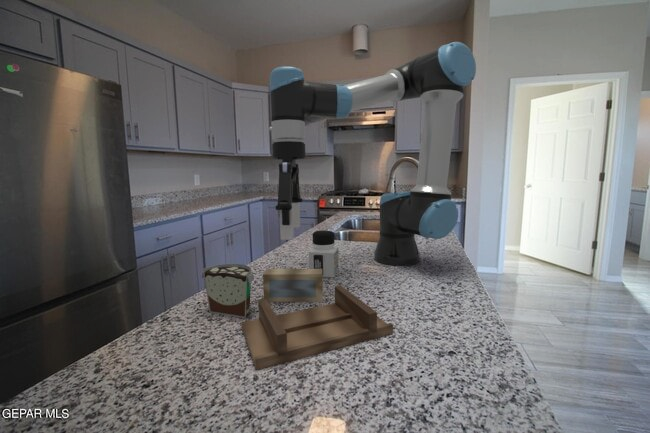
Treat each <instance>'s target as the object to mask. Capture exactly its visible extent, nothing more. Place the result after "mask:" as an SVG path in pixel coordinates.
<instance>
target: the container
mask: <svg viewBox="0 0 650 433" xmlns="http://www.w3.org/2000/svg"><path fill="white" fill-rule="evenodd" d="M307 256H308V269H322V271H323V278H330V279H331V278H335V277H336V276H337V273H338V271H339V245H335V233H334V231H331V230H328V229H320V230H316V231H313V233H312V247H311V248H310V249H309V250H308V254H307Z"/></svg>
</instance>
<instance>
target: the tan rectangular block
mask: <svg viewBox="0 0 650 433" xmlns="http://www.w3.org/2000/svg"><path fill="white" fill-rule="evenodd" d="M323 278H324V277H323V271H322V269H309V268H266V269H265V270H264V272H263V274H262V285H263V286H262V287H263V299H266V300H267V301H268V303H274V302H275V303H286V302H287V303H295V302H296V303H303V302H304V303H305V302H306V303H310V302H311V303H313V302H314V303H315V302H316V303H317V302H318V303H319V302H321V303H323V298H324V297H323V296H324V287H323V286H324V284H323V283H324V282H323V280H324V279H323Z"/></svg>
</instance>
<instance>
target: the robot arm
mask: <svg viewBox="0 0 650 433" xmlns="http://www.w3.org/2000/svg"><path fill="white" fill-rule="evenodd" d="M476 73H477V63H476V59H475V56H474V54H473V53H472V51H471V49H470V47H469V46H467V45H466V44H465V43H462V42H460V41H453V42H450V43H448V44H443V45H441V46H440V47H438V48H436V49H433V50H432V51H429V52H427V53H425V54H422V55H421V56H418V57H416V58H414V59H412V60H410V61H408V62H407V63H405V64H403V65H400V66H399V67H395V68H391V69H389V70H387V71H386V72H385V74H383V75H380V76H376V77H375V76H374V77H371V78H367V79H364V80H359V81H356V82H352V83H348V84H343V85H339V84H338V83H335V84H332V83H323V82H315V81H309V80H305V75H304V72H303V70H302V69H301V68H297V67H295V66H288V65H287V66H278V67H275V68H274V69H273V70H272V71H271V72H270V74H269V101H270V104H269V105H270V115H271V118H270V119H271V126H269V128H268V131H269V132H271V139H272V141H273V142H272V144H271V150H272V151H271V152H272V153H271V154H272V159H274V160H281V161H282V162H278V189H277V191H278V192H277V203H276V205H275V211H276V210H277V211H279V227H280V229H279V230H280V231H279V232H280V240H281V241H287V240H288V241H293V240H294V239H295V237H294V229H301V205H300V204H301V203H303V197H302V196H301V191H300V176H299V174H300V169H299V164H298V163H297V162H296V160H304V159H305V158H306V144H305V142H304V141H305V140H306V126H309V125H311V124H315V123H317V122H321V121H324V120H327V119H334V120H337V119H346V118H347V117H348V116H349V115H350V113H351V112H355V111H358V110H361V109H364V108H369V107H372V106H375V105H378V104H382V103H385V102H388V101H390V102H391V103H398V102H400V101H404V100H405V101H406V100H411V99H419V98H420V99H421V100H422V101H423V102H424V107H423V109H424V110H423V116H422V117H423V119H422V129H421V138H420V146H419V155H418V165H417V176H416V183H415V186H414V187H412V188H411V189H410V190H409V191H401V192H390V193H389V192H388V193H384V194H382V195H380V197H379V198H380V199H379V204H378V205H379V236H378V241H377V243H376V247H375V250H374V256H373V257H374V258H373V259H374V261H376V262H378V263H380V264H383V265H384V264H385V265H389V266H411V265H416V264H418V263H419V262H420V251H419V249H418V245H417V242H416V238H415V236H419V237H420V236H421V237H423V238H425V239H433V240H440V239H443V238H446V237H447V236H449V234H450V233H451V232H452V231H453V230H454V228H455V226H456V225H457V222H458V219H459V218H458V217H459V209H458V208H457V204H456V203H455V202H454V201H453V200H452V192H451V191H450V190H449V188H448V187H447V186H448V178H449V170H450V161H451V153H452V146H453V144H452V143H453V138H454V136H453V135H454V128H455V118H456V112H457V110H456V109H457V104H458V102H460V100H462V99H463V98H464V95H465V94H464V91H465V87H466V86H468V85H469V84H471V83H472V82H473V80H474V78H475V77H476Z"/></svg>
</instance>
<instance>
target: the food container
mask: <svg viewBox="0 0 650 433" xmlns="http://www.w3.org/2000/svg"><path fill="white" fill-rule="evenodd" d="M201 278H202V279H203V280H204V281H203V282H204V287H205V293H206V299H207V304H208V311H209V313H212V314H217V315H225V316H230V317H235V318H236V317H237V318H242V319H247V318H248V316H249V315H250V313H251V312H250V311H251V287H252V286H251V285H252V282H253V281H254V280H255V276H254V273H253V270H252V268H251V266H249V265H247V264H243V263H220V264H216V265H210V266H206V267H204V268H202V271H201Z"/></svg>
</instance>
